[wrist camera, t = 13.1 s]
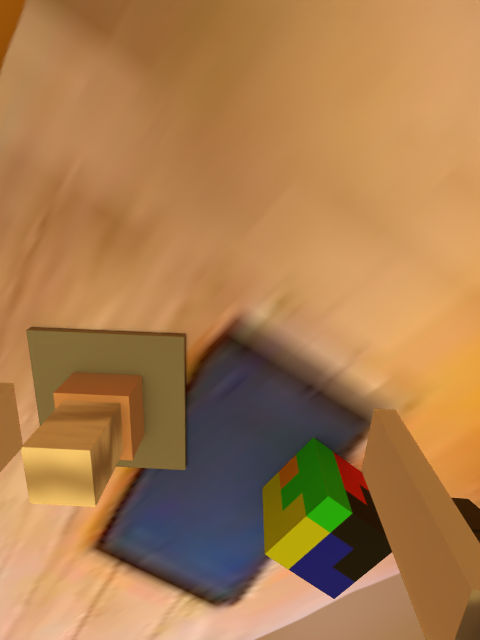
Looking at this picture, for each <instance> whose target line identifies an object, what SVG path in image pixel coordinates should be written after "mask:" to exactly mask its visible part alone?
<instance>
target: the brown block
mask: <svg viewBox="0 0 480 640" xmlns="http://www.w3.org/2000/svg"><path fill="white" fill-rule="evenodd" d="M21 451H22V457H23V463H24V470H25V476H26V482H27V488H28V494H29V500H30V503H33V504H52V505H71V506H90V507H96V505H97V503H98V501H99V499H100V497H101V495H102V493H103V491H104V489H105V487H106V485H107V483H108V481H109V479H110V477H111V475H112V473H113V471H114V469H115V467H116V465H117V463H118V461H119V459H120V457H121V455H122V453H123V451H124V449H123V434H122V420H121V405H120V403H109V402H88V401H67V400H64V401H63V402H62V403H61V404H60V405H59V406H58V407H57V409H56V410H55V411H54V412H53V413H52V414H51V415H50V416H49V417H48V418H47V419H46V420H45V422H44V423H43V424H42V425H41V426H40V427H39V428H38V429H37V430H36V431H35V432H34V433H33V434H32V436H31V437H30V438H29V439H28V440H27V441H26V442H25V443H24V444H23V447H22V448H21Z"/></svg>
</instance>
